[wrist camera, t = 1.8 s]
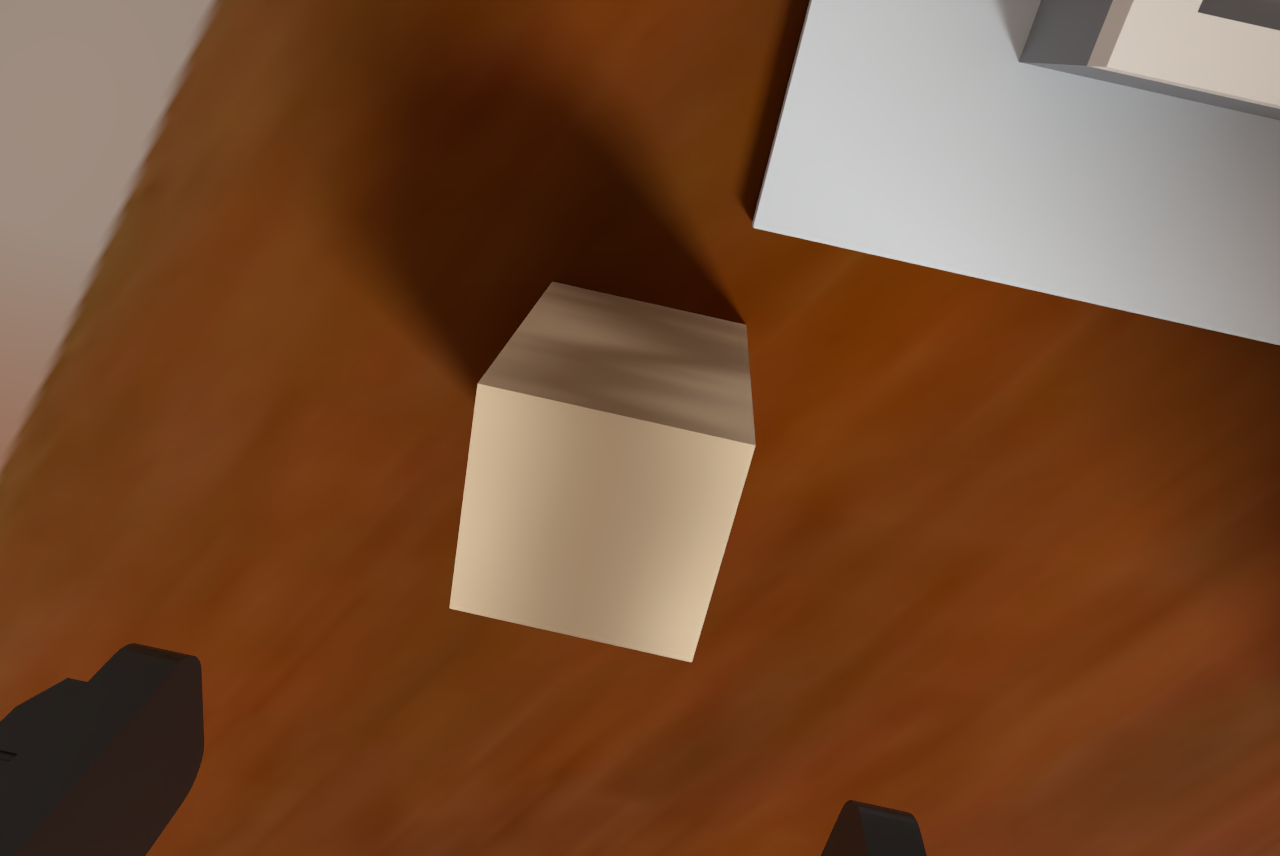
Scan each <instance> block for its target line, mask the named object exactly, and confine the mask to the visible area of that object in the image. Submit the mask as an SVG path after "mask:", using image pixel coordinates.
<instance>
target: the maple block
mask: <svg viewBox="0 0 1280 856" xmlns="http://www.w3.org/2000/svg"><path fill="white" fill-rule="evenodd" d="M754 449H755V432H754V419H753V406H752V394H751V381H750V368H749V355H748V342H747V329H746V325H745V324H741V323H736V322H732V321H727V320H723V319H718V318H714V317H709V316H705V315H700V314H696V313H691V312H687V311H682V310H678V309H673V308H669V307H664V306H660V305H655V304H651V303H646V302H642V301H637V300H633V299H629V298H624V297H620V296H615V295H611V294H606V293H602V292H597V291H593V290H588V289H584V288H579V287H575V286H570V285H566V284H561V283H557V282H552V283H551V284H550V285H549V287H548V288H547V289H546V291H545V292H544V293H543V295H542V296H541V298H540V299H539V300H538V302H537V303H536V304H535V306H534V307H533V309H532V310H531V311H530V313H529V314H528V315H527V317H526V318H525V319H524V321H523V322H522V324H521V325H520V326H519V328H518V329H517V330H516V332H515V333H514V334H513V336H512V337H511V339H510V340H509V341H508V343H507V344H506V345H505V347H504V348H503V349H502V351H501V352H500V354H499V355H498V356H497V358H496V359H495V360H494V362H493V363H492V364H491V366H490V367H489V369H488V370H487V371H486V373H485V374H484V375H483V377H482V378H481V380H480V381H479V382H478V384H477V392H476V400H475V408H474V416H473V424H472V432H471V440H470V448H469V456H468V464H467V472H466V480H465V488H464V496H463V504H462V512H461V520H460V528H459V536H458V544H457V552H456V560H455V568H454V576H453V584H452V592H451V600H450V609H454V610H459V611H463V612H468V613H472V614H477V615H481V616H486V617H490V618H495V619H499V620H504V621H508V622H513V623H517V624H522V625H526V626H531V627H535V628H540V629H544V630H549V631H553V632H558V633H562V634H567V635H571V636H576V637H580V638H585V639H589V640H594V641H598V642H603V643H607V644H612V645H616V646H621V647H625V648H630V649H634V650H639V651H643V652H648V653H652V654H656V655H661V656H665V657H670V658H674V659H679V660H683V661H688V662H692V660H693V657H694V653H695V650H696V646H697V643H698V640H699V636H700V633H701V629H702V626H703V623H704V619H705V616H706V612H707V609H708V606H709V602H710V599H711V595H712V592H713V589H714V585H715V582H716V578H717V575H718V572H719V568H720V565H721V561H722V558H723V554H724V551H725V548H726V544H727V541H728V537H729V534H730V531H731V527H732V524H733V520H734V517H735V514H736V510H737V507H738V503H739V500H740V497H741V493H742V490H743V486H744V483H745V480H746V476H747V473H748V469H749V466H750V463H751V459H752V456H753V452H754Z"/></svg>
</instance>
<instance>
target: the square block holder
mask: <svg viewBox="0 0 1280 856" xmlns="http://www.w3.org/2000/svg"><path fill="white" fill-rule="evenodd" d="M752 225H753V228H757V229H761V230H766V231H770V232H774V233H779V234H783V235H788V236H792V237H797V238H801V239H806V240H810V241H815V242H819V243H824V244H828V245H833V246H837V247H842V248H846V249H851V250H855V251H860V252H864V253H869V254H873V255H877V256H882V257H886V258H891V259H895V260H900V261H904V262H909V263H913V264H918V265H922V266H927V267H931V268H936V269H940V270H945V271H949V272H954V273H958V274H963V275H967V276H971V277H976V278H980V279H985V280H989V281H994V282H998V283H1003V284H1007V285H1012V286H1016V287H1021V288H1025V289H1030V290H1034V291H1039V292H1043V293H1048V294H1052V295H1057V296H1061V297H1065V298H1070V299H1074V300H1079V301H1083V302H1088V303H1092V304H1097V305H1101V306H1106V307H1110V308H1115V309H1119V310H1124V311H1128V312H1133V313H1137V314H1142V315H1146V316H1151V317H1155V318H1159V319H1164V320H1168V321H1173V322H1177V323H1182V324H1186V325H1191V326H1195V327H1200V328H1204V329H1209V330H1213V331H1218V332H1222V333H1227V334H1231V335H1236V336H1240V337H1245V338H1249V339H1253V340H1258V341H1262V342H1267V343H1271V344H1276V345H1280V0H810V1H809V4H808V8H807V12H806V16H805V20H804V24H803V28H802V32H801V35H800V39H799V43H798V47H797V51H796V55H795V59H794V63H793V66H792V70H791V74H790V78H789V82H788V86H787V90H786V94H785V97H784V101H783V105H782V109H781V113H780V117H779V121H778V125H777V128H776V132H775V136H774V140H773V144H772V148H771V152H770V156H769V159H768V163H767V167H766V171H765V175H764V179H763V183H762V187H761V190H760V194H759V198H758V202H757V206H756V210H755V214H754V218H753V221H752Z"/></svg>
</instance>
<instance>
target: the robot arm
mask: <svg viewBox="0 0 1280 856" xmlns="http://www.w3.org/2000/svg"><path fill="white" fill-rule="evenodd" d="M203 751H204V727H203V701H202V675H201V664H200V661H199V660H198V658H197V657H195V656H191V655H187V654H182V653H177V652H173V651H168V650H163V649H159V648H154V647H150V646H145V645H140V644H135V643H133V644H129V645H126V646H124V647H123V648H122V649H120V650H119V651H118V652H117V653H116V654H115V655H114V656H113V657H112V658H111V659H110V660H109V661H108V662H107V663H106V664H105V665H104V666H103V667H102V668H101V669H100V670H99V671H98V672H97V673H96V674H95V675H94V676H93V677H92V678H91V679H90V680H89V681H88V682H84V681H80V680H75V679H70V678H67V679H65V680H63V681H61V682H60V683H58V684H56V685H54V686H52V687H51V688H49V689H47V690H45V691H43V692H42V693H40V694H38V695H36V696H34V697H33V698H31V699H29V700H27V701H25V702H24V703H22V704H20V705H18V706H17V707H15V708H14V709H13V710H12V711H11V712H10V713H9V714H8V715H7V716H6V717H5V718H4V719H3V720H2V721H1V722H0V856H146V854H147V853H148V851H149V850H150V848H151V847H152V845H153V844H154V843H155V841H156V840H157V838H158V837H159V835H160V834H161V833H162V831H163V830H164V828H165V827H166V825H167V824H168V823H169V821H170V820H171V818H172V817H173V815H174V814H175V812H176V811H177V810H178V808H179V807H180V805H181V804H182V802H183V801H184V799H185V798H186V796H187V794H188V793H189V791H190V789H191V787H192V785H193V783H194V781H195V778H196V776H197V773H198V770H199V768H200V764H201V761H202V756H203ZM821 856H926V852H925V848H924V844H923V840H922V837H921V833H920V829H919V826H918V823H917V821H916V819H915V818H914V816H913V815H912V814H911V813H908V812H904V811H899V810H894V809H890V808H885V807H880V806H876V805H871V804H867V803H862V802H857V801H853V800H850V801H848V802H846V803H845V805H844V806H843V808H842V810H841V812H840V814H839V817H838V819H837V821H836V823H835V825H834V828H833V830H832V832H831V834H830V837H829V839H828V841H827V843H826V846H825V848H824V850H823V852H822V854H821Z"/></svg>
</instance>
